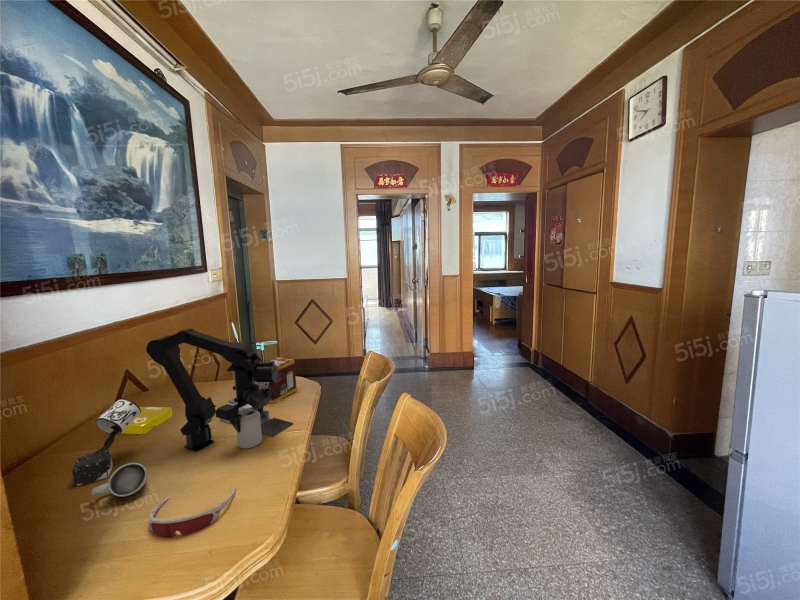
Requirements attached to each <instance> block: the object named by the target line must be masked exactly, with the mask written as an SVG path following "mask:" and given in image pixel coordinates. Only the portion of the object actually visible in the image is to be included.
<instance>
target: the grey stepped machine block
mask: <svg viewBox="0 0 800 600" xmlns="http://www.w3.org/2000/svg"><path fill="white" fill-rule="evenodd" d="M226 404H229V405H235V404H237V402H235V401H234V398H231V399H229V400H227V402H226ZM226 404H225V405H226ZM245 408H253V407H252V406H251V405H247V406H245V407H243V408H241V409H239V411H240V410H243V409H245ZM261 417H262V415H261Z"/></svg>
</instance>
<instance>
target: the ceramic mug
mask: <svg viewBox="0 0 800 600" xmlns="http://www.w3.org/2000/svg"><path fill="white" fill-rule="evenodd" d="M147 475H148V473H147V469H146V466H144V465H143V464H141V463H139V462H129V463H126V464H124V465H121V466H119V467H118V468H117V469H116V470H114V471H113V473H112V474H111V475H110V476H109V477H110V478H109V480H108V481H107V482H106V483H103V484H101V485H98V486H96V487H93V488H92V489H91V496H92V497H94V496H99V495H103V494H106V493H111V494H112V495H113V496H116V497H120V498H121V497H122V498H123V497H129V496H132V495H134V494H136V493H137V492H139V491H140V490H142V489H143V487H144V486H145V484H146V483H147V478H148V477H147Z"/></svg>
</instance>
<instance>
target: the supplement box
mask: <svg viewBox="0 0 800 600" xmlns="http://www.w3.org/2000/svg"><path fill="white" fill-rule="evenodd" d="M269 361H275V365H276V366H277V368H278V376H277V380H276V381H275V382H256V381H254V383H255V384H257V385H258V389H260V388H262V387H263V388H270V389H272V390H273V392H274V397H273V398H271V399H270V401H269V402H268V403H267V404H273V405H274V404H276V403H277V402H279V401H281V400H283V399H285V398H286V397H288V396H290V395H291V394H293V393H296V391H297V379H296V378H297V377H296V367H295V366H296V364H295V363H296V362H295V359H292V358H286V357H285V358H284V357H279V356H278V357H277V356H276V357H275V358H273V359H269V360H268V361H267V360H266V362H269Z"/></svg>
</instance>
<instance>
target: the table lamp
mask: <svg viewBox="0 0 800 600" xmlns="http://www.w3.org/2000/svg"><path fill="white" fill-rule="evenodd" d="M140 407H141V406H139V405H138V404H137V403H135V402H134V401H133V400H130V399H126V398H118V400H116V401H115V402H114V403H113V404H112V405H111V406H110V407H108V409H107V410H105V411H104V413H102V414H101V415H100V416H98V418H97V419H96V420H95V425H96V426H97V428H98V429H99V430H101V431H102V432H104V433H107V434H109V436H108V437H107V438H106V440H104V443H103V446H102V447H101V448H100V449H98V450H96V451H94V452H93V453H87V454H84V455H81V456H80V457H78V458H77V461H76V462H75V464H74V465H73V466H72V471H71V474H72V478H73V479H72V480H73V483H74V484H76V486H77V487H78V486H82V485H88V484H90V483H95V482H96V481H99V480H100V481H101V480H103V479H107V478H109V477H110V474H111V471H112V469H113V465H114V463H113V457H112V452H111V448H110V447H111V446H112V445H113V443H114V441H115V439H116V438H115V437H116V436H119V435H122V434H121V433H122V432H123V431H124V430H125V429H126V428H127V426H128V425H129V424H130V423H131V422H132V421H133V420H134V419H135V418H136V417H137V416H138V415H139V414H140V413H141V409H140Z"/></svg>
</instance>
